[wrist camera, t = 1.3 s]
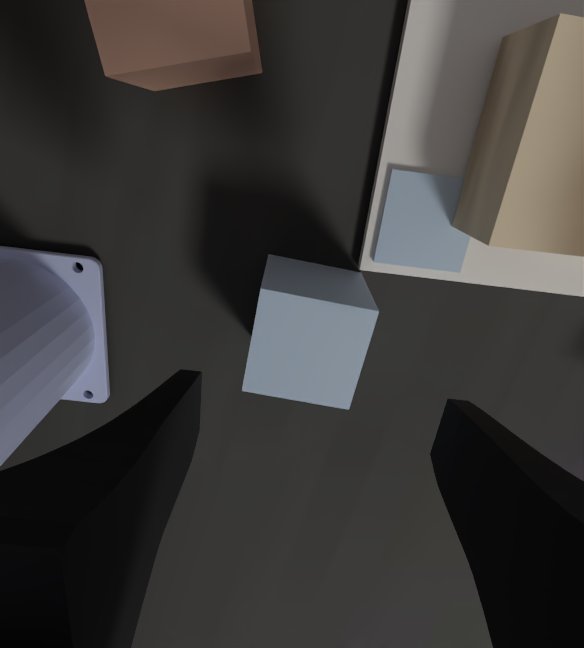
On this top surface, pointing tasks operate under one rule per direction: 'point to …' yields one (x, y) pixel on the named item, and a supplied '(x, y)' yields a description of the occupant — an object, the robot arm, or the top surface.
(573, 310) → the top surface
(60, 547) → the robot arm
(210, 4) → the terracotta block
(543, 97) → the maple base block
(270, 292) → the blue-grey block
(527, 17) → the mat
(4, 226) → the top surface
